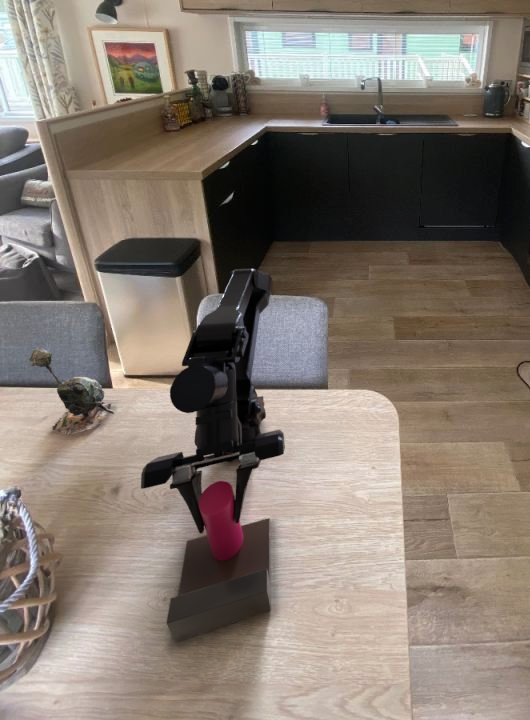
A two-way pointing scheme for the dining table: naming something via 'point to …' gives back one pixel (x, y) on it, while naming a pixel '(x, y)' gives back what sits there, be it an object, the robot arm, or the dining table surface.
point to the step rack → (222, 584)
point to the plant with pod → (76, 399)
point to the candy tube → (221, 520)
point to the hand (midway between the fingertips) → (220, 527)
